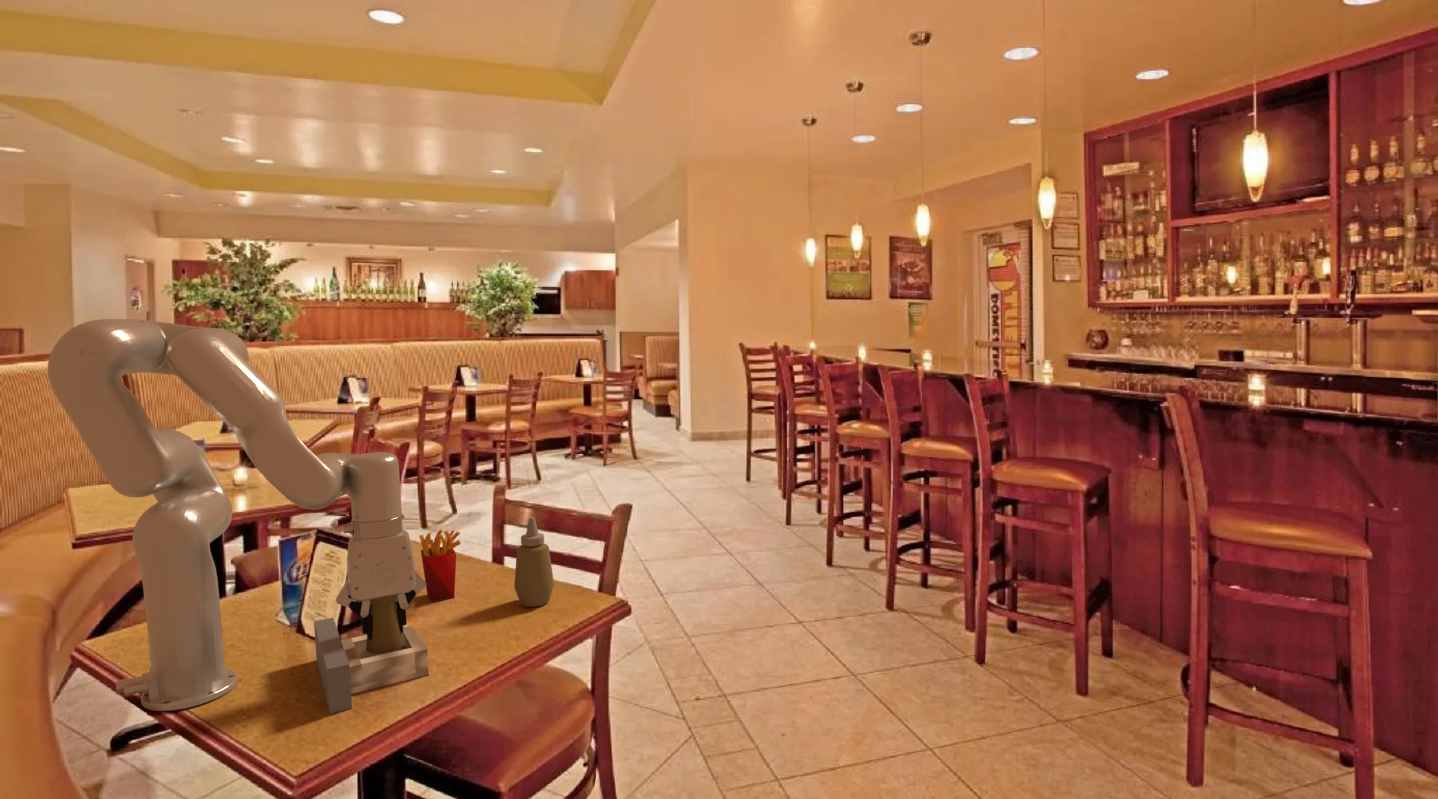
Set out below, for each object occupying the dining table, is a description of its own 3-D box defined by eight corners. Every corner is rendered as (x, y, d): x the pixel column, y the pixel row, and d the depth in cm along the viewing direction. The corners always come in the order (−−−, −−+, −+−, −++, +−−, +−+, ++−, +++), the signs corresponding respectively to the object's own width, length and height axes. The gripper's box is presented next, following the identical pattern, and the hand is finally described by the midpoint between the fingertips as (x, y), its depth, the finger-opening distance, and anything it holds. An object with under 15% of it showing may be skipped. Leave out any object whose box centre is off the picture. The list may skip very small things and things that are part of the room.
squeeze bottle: (537, 593, 164) (534, 511, 162) (562, 600, 160) (559, 517, 158) (506, 604, 158) (503, 519, 156) (532, 612, 153) (529, 525, 151)
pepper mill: (390, 654, 124) (386, 589, 123) (358, 652, 126) (353, 587, 125) (412, 639, 130) (408, 577, 129) (381, 637, 132) (377, 575, 130)
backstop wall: (330, 713, 114) (327, 669, 113) (316, 659, 133) (313, 621, 132) (352, 708, 116) (349, 664, 115) (335, 655, 134) (333, 617, 133)
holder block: (349, 694, 120) (347, 667, 120) (340, 666, 130) (338, 640, 130) (428, 675, 126) (427, 649, 126) (414, 649, 136) (412, 625, 136)
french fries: (421, 594, 164) (418, 526, 163) (461, 587, 168) (458, 521, 167) (427, 607, 157) (423, 536, 155) (468, 600, 160) (465, 531, 159)
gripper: (323, 541, 118) (332, 653, 120) (435, 524, 127) (441, 629, 129) (319, 530, 125) (327, 637, 126) (426, 515, 134) (431, 615, 135)
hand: (384, 632), depth 128 cm, fingers closed on pepper mill, 4 cm apart
